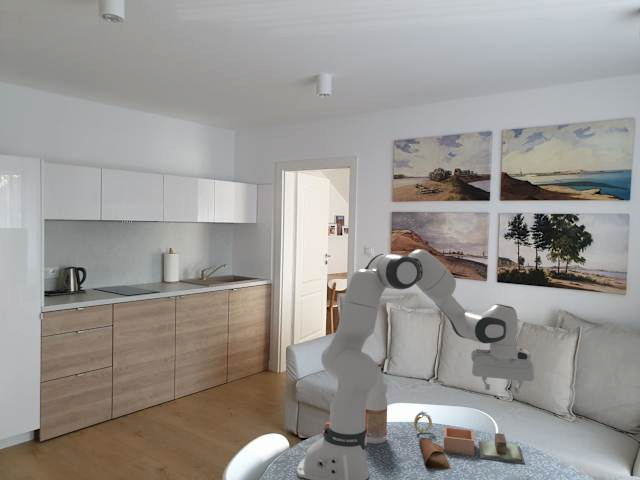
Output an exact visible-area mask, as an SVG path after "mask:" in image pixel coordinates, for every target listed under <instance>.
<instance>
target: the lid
mask: <svg viewBox="0 0 640 480" xmlns="http://www.w3.org/2000/svg"><path fill="white" fill-rule="evenodd" d="M480 442H481V445H482V452H483V457H490V458H498V459H506V460H514V461H521V457H520V454H519V451H518V447H517V446H518V445H517V444H512V443H507V440H506V436H505V434H504V433H498V432H494V441H487V440H481V441H480Z"/></svg>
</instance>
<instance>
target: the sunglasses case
mask: <svg viewBox="0 0 640 480" xmlns="http://www.w3.org/2000/svg"><path fill="white" fill-rule="evenodd" d="M418 444H419V448H420V452H421V456H422V458H423V462H424V466H425V467H426V468H427V469H431V470H432V469H433V470H451V466H450V463H449V461H448V459H447V455H446V452H444V446H442V445H440V444H438V443H435V442H433V441H432V440H430V439H429V438H427V437H421V438H419V442H418Z"/></svg>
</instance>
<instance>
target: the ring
mask: <svg viewBox="0 0 640 480" xmlns="http://www.w3.org/2000/svg"><path fill="white" fill-rule="evenodd" d="M423 417H426V418H427V420H428V425H427V426H426V428H425V429H419V428H418V422H419V420H420V419H422V418H423ZM432 420H433V419H432V417H431V416H430V415H429V414H428V413H427V411H425V412H424V411H423V410H422V411H419V412H418V413H417V414H416V416H415V418H414V421H413V426H414V429H415V430H416V431H418V433H422V434H424V433H427V432H428V431H429V430H430V429H431V427H432V425H433V424H432V423H433V421H432ZM423 432H424V433H423Z"/></svg>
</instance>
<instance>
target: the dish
mask: <svg viewBox="0 0 640 480" xmlns="http://www.w3.org/2000/svg"><path fill="white" fill-rule="evenodd" d="M443 429H444V434H443V450H444V453H452V454H459V455H460V454H461V455H467V456H468V455H469V456H475V434H474V429H468V428H460V427H459V428H457V427H449V426H444V428H443Z"/></svg>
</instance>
